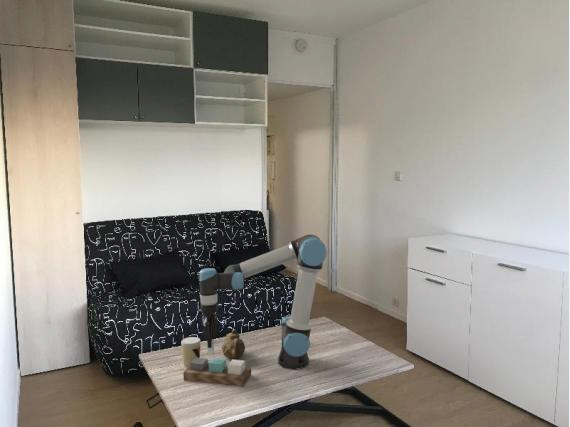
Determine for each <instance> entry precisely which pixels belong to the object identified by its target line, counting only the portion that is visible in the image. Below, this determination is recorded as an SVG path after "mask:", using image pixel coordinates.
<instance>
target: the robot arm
mask: <svg viewBox="0 0 570 427" xmlns="http://www.w3.org/2000/svg"><path fill="white" fill-rule="evenodd" d="M327 251H328V250H327V247H326V245H325V243H324V242H323V241H322V240H321V239H320V237H318V236H317V235H315V234H305V235H302V236H300V237H298V238H296V239H294V240H291V241H289V243H288V244H287V245H284V246H282V247H278V248H276V249H273V250H271V251H269V252H266V253H263V254H260V255H258V256H256V257H252V258H249V259H247V260H245V261H242V262H240V263H237V264H230V265H228V266H227V267H226V268H225V270H224V272H217V270H216V269H215V267H214V268H212V267H211V268H209V267H206V268H202V269H201V270H200V271H199V294H200V295H199V298H200V312H201V313H202V314H203V321H202V322H201V327H202V330H203V331H202V332H203V338H204V341H206V345H207V346H206V347H207V348H206V349H207V354H208V355H215V340H216V339H217V321H218V320H217V319H218V313H217V312H218V310H219V308H218V291H227V290H231V291H232V290H234V291H235V290H236V291H237V290H242V289H243V288H244V280H245V279H247V278H249V277H251V276H254V275H257V274H259V273H262V272H266V271H267V270H270V269H273V268H275V267H278V266H281V265H283V264H286V263H289V262H291V261H293V260H294V261H296V266H297V268H298V274H297V279H296V285H295V290H294V296H293V301H292V308H291V314H290V315H287V316H284V317H282V318H281V322H280V323H281V349H280V352H279V355H278V357H277V364H278V366H280V367H281V366H282V368H284V369H287V368H289V369H288V370H297V369H296V368H300V369H302V368H301V367H304V368H306V367H307V366H308V365H309V364H310V358H309V355H308V351H309V349H310V345H311V342H310V336H311V330H312V325H311V324H310V318H311V311H312V307H313V300H314V296H315V295H314V294H315V290H316V284H317V280H318V275H319V274H318V273H319V272H320V271H322V270H323V265H324V261H325V260H326V257H327ZM308 363H309V364H308ZM306 365H307V366H306ZM305 366H306V367H305ZM290 368H291V369H290Z"/></svg>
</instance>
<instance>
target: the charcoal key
mask: <svg viewBox="0 0 570 427" xmlns="http://www.w3.org/2000/svg"><path fill="white" fill-rule="evenodd" d="M208 363H209V359H208V358H202V357H200V358H195V359H194V360H193V361H192V362H191V363H190V370H198V371H204V370H205V369H206V368H207V366H208Z"/></svg>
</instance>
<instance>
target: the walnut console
mask: <svg viewBox="0 0 570 427" xmlns="http://www.w3.org/2000/svg"><path fill="white" fill-rule="evenodd" d="M228 364H229V363H228ZM228 364H227V363H226V369H225V370H224V371H223V372H222V373H216V372H209V362H208V366H207V368H206V369H205V370H204V371H198V370H190V366H189V367H186V369H184V371H183V381H185V382H187V381H188V382H195V383H204V384H213V385H220V386H231V387H239V388H243V387H244V386H245V385H246V383H247V382H248V381H249V379H250V378H251V377H252V366H247V365H245V371H244V372H243V373H242V375H235V374H228Z"/></svg>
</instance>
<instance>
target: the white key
mask: <svg viewBox="0 0 570 427" xmlns="http://www.w3.org/2000/svg"><path fill="white" fill-rule="evenodd" d="M230 360H231V361H229V363H228V374H235V375H242V373H243V372H244V371H245V366H246V360H243V359H230Z"/></svg>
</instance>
